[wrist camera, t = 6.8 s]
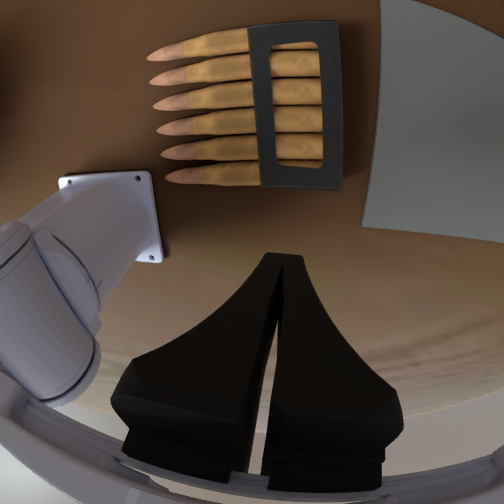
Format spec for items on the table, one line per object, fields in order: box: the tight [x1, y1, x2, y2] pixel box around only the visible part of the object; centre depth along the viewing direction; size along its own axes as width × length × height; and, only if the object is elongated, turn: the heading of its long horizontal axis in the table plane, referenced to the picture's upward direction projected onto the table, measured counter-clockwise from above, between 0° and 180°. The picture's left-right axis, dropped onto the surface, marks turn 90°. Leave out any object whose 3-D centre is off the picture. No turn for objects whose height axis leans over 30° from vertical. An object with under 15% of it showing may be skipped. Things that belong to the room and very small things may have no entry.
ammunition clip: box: [147, 20, 343, 191], centre depth 16 cm, size 11×2×12 cm
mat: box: [362, 0, 504, 243], centre depth 15 cm, size 15×17×1 cm
